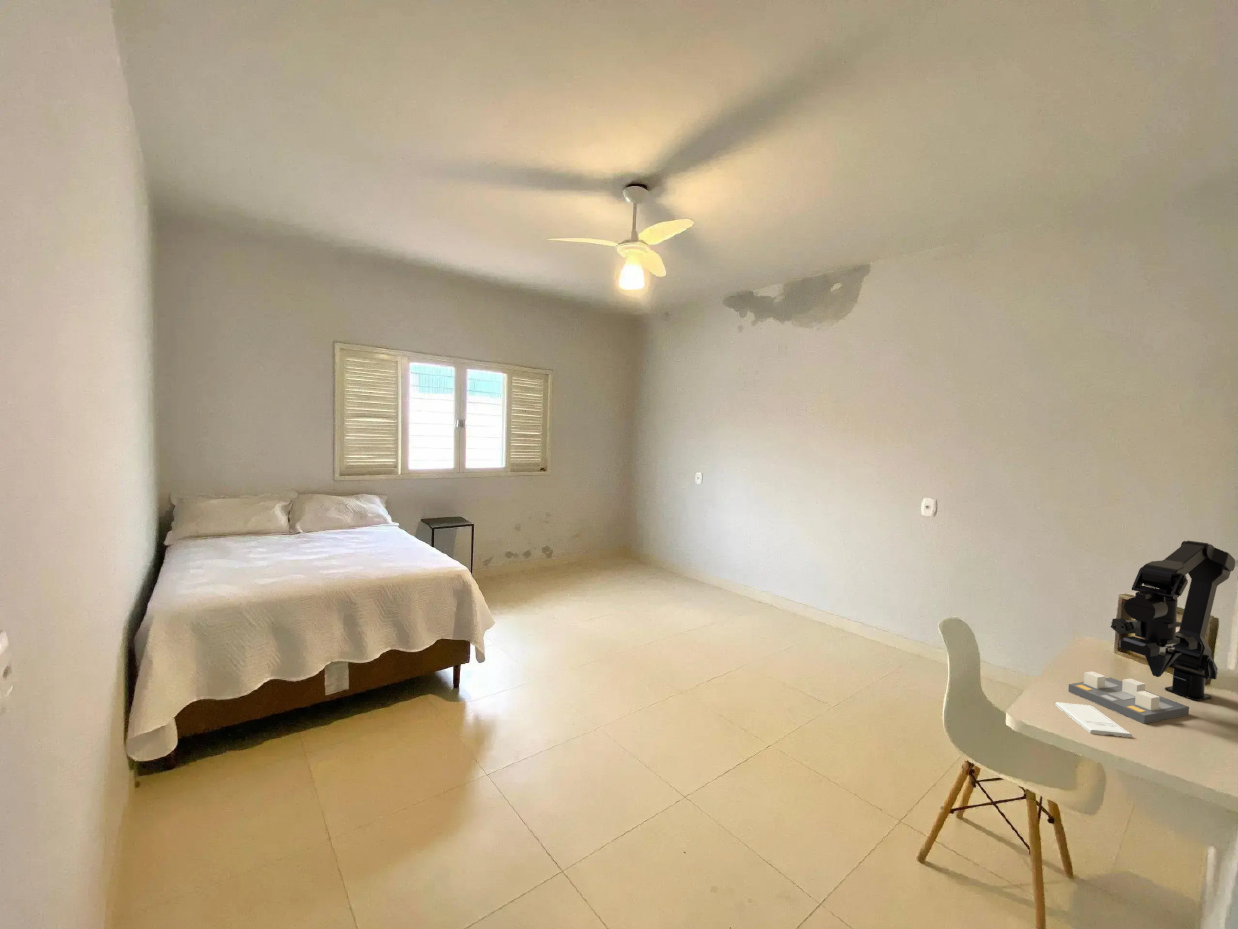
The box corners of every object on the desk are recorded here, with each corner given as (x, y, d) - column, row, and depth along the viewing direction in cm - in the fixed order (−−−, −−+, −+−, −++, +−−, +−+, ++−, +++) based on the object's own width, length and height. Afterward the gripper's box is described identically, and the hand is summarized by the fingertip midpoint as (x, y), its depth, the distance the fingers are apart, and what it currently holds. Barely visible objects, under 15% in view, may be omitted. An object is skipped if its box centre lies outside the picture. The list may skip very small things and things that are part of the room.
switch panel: (1110, 684, 140) (1110, 677, 140) (1188, 714, 125) (1189, 706, 124) (1068, 691, 136) (1068, 683, 136) (1144, 723, 120) (1144, 715, 120)
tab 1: (1091, 682, 136) (1092, 671, 136) (1104, 687, 134) (1105, 676, 133) (1083, 683, 136) (1084, 672, 136) (1096, 688, 133) (1097, 677, 133)
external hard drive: (1092, 712, 127) (1132, 740, 114) (1054, 708, 128) (1090, 736, 116) (1093, 705, 126) (1132, 733, 114) (1055, 702, 128) (1090, 729, 116)
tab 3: (1143, 702, 126) (1144, 690, 126) (1159, 708, 123) (1159, 696, 123) (1135, 704, 125) (1135, 692, 125) (1150, 710, 122) (1151, 698, 122)
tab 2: (1129, 689, 133) (1130, 678, 132) (1144, 695, 130) (1145, 683, 130) (1121, 691, 132) (1122, 679, 132) (1136, 696, 129) (1137, 685, 129)
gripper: (1143, 602, 137) (1140, 658, 138) (1095, 608, 132) (1092, 667, 133) (1200, 616, 127) (1196, 677, 128) (1150, 623, 122) (1147, 687, 122)
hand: (1156, 676), depth 128 cm, fingers closed
